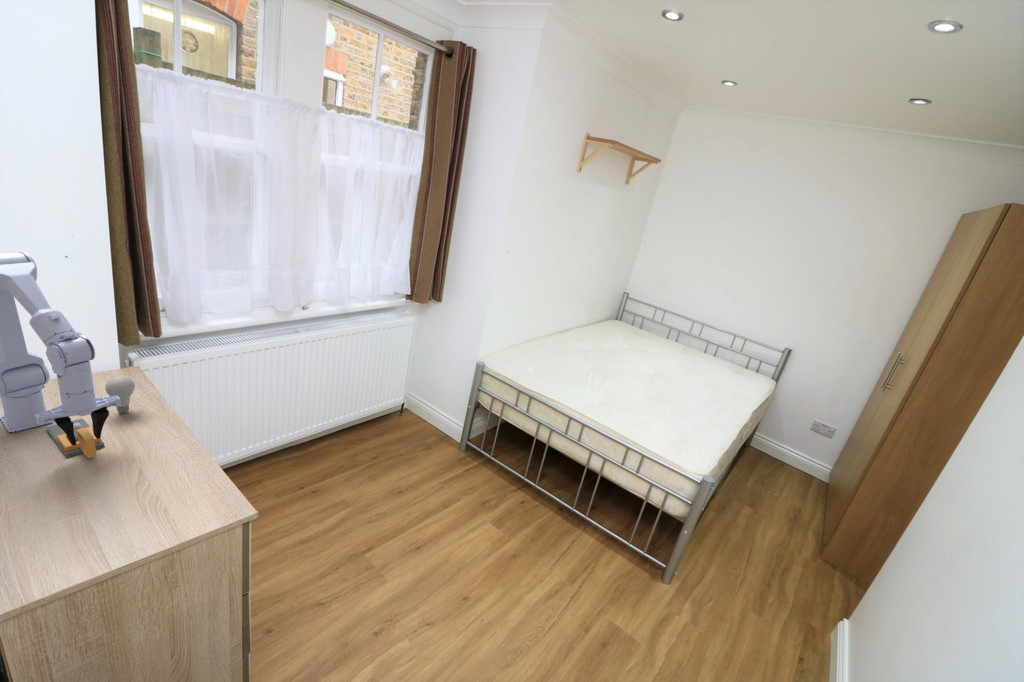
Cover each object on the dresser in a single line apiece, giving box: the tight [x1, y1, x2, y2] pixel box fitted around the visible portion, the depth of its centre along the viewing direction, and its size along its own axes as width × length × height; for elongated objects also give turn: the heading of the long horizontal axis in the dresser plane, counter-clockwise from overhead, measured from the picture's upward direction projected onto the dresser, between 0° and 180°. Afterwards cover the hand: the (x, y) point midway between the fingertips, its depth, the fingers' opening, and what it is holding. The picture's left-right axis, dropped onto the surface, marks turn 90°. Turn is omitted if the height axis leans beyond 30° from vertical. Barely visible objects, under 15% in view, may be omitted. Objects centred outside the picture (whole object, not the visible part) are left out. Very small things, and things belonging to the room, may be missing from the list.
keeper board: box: [45, 418, 105, 458], centre depth 116 cm, size 15×7×6 cm, turn 55°
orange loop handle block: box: [57, 426, 102, 459], centre depth 112 cm, size 12×6×5 cm, turn 55°
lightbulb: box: [104, 375, 136, 414], centre depth 127 cm, size 6×6×11 cm
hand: (85, 439), depth 111 cm, fingers open, 4 cm apart
